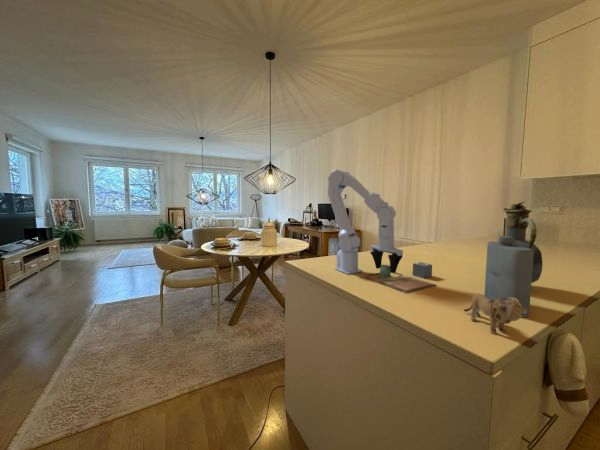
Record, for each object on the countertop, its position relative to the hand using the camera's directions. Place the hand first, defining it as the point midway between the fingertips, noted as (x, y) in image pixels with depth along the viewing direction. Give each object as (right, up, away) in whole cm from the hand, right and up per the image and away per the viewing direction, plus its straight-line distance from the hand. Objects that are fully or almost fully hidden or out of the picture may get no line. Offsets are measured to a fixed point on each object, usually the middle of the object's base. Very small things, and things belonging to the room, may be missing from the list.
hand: (385, 270), depth 99 cm
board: (+3, -3, -5) cm, 7 cm away
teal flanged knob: (0, -3, 0) cm, 3 cm away
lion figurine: (+11, -6, -40) cm, 42 cm away
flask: (+24, -5, -28) cm, 37 cm away
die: (+15, -3, +1) cm, 16 cm away
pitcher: (+39, -4, -14) cm, 42 cm away
